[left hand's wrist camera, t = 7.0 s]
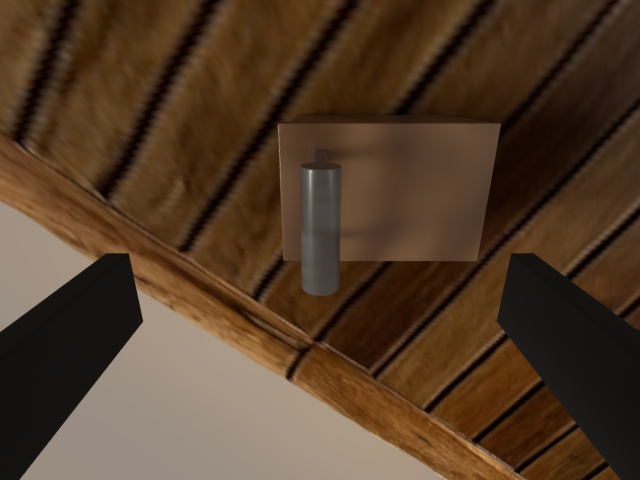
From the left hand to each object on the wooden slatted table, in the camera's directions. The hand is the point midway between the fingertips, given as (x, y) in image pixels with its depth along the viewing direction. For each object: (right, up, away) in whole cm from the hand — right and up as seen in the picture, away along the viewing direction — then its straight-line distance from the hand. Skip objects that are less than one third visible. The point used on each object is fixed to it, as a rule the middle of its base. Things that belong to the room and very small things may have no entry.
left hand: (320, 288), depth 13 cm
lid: (+4, +5, +12) cm, 14 cm away
